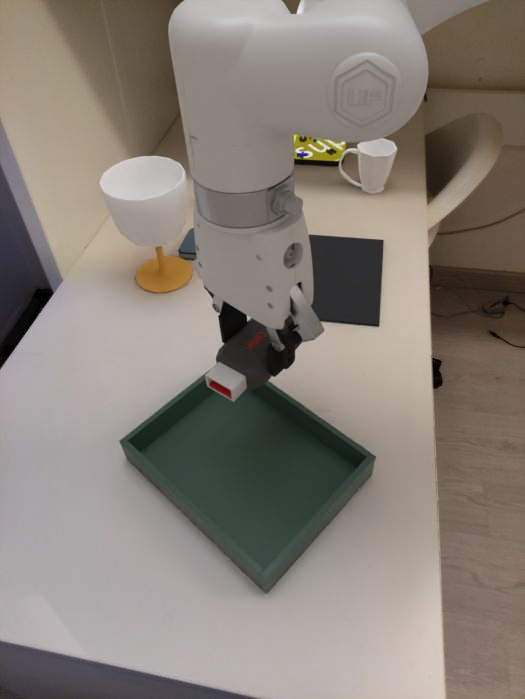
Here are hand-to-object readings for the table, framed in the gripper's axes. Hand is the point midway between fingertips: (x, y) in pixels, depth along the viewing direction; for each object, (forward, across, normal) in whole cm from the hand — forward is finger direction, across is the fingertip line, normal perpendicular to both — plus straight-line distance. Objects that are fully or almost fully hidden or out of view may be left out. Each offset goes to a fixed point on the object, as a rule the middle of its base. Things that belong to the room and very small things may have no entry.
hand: (258, 350), depth 53 cm
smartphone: (+15, +29, -23) cm, 40 cm away
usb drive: (+1, 0, 0) cm, 1 cm away
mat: (+15, +11, -28) cm, 34 cm away
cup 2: (+15, +23, -53) cm, 59 cm away
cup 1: (+15, +32, -12) cm, 38 cm away
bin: (+15, -1, +5) cm, 16 cm away
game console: (+15, +41, -56) cm, 71 cm away
